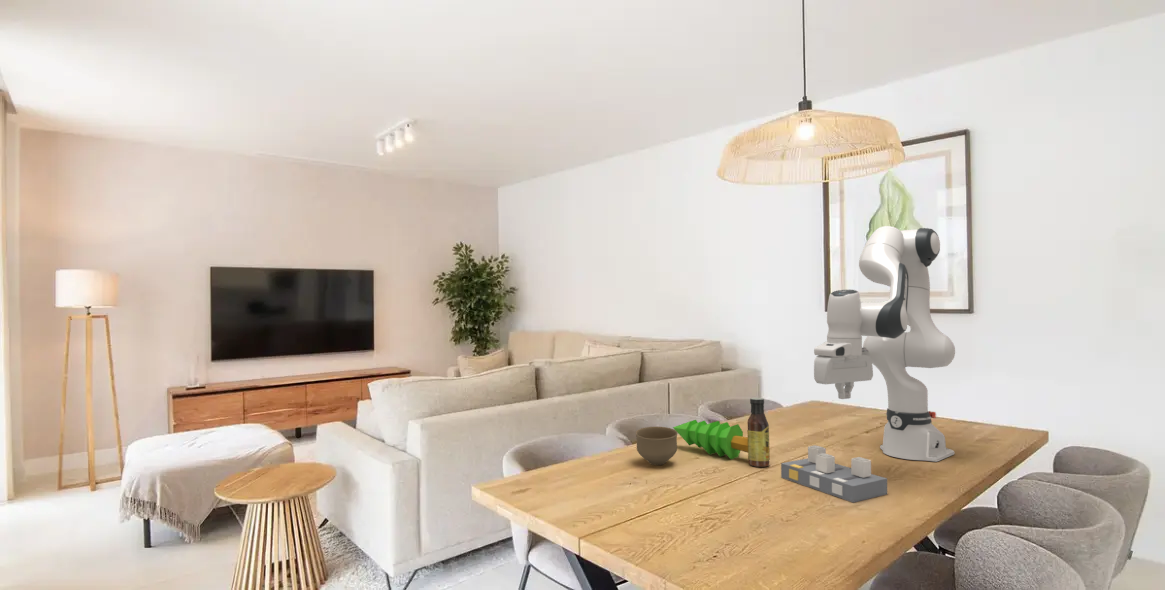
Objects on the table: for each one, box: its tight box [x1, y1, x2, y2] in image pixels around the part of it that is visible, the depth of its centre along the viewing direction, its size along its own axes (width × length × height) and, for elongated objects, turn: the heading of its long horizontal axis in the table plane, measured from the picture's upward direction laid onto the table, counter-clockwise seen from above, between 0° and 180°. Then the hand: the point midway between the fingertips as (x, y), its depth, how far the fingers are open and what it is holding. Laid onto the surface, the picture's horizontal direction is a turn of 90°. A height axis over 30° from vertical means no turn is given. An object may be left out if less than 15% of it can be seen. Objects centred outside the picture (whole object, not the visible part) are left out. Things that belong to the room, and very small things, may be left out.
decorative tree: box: [672, 419, 748, 460], centre depth 191 cm, size 11×12×30 cm
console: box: [780, 457, 888, 504], centre depth 158 cm, size 13×23×4 cm, turn 28°
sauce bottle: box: [747, 397, 771, 468], centre depth 178 cm, size 6×6×20 cm
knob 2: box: [816, 453, 836, 473], centre depth 157 cm, size 3×4×4 cm
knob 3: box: [850, 456, 872, 478], centre depth 153 cm, size 3×4×4 cm
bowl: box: [635, 426, 679, 466], centre depth 179 cm, size 13×13×10 cm
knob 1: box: [807, 444, 827, 463], centre depth 165 cm, size 3×4×4 cm
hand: (844, 398), depth 163 cm, fingers closed
